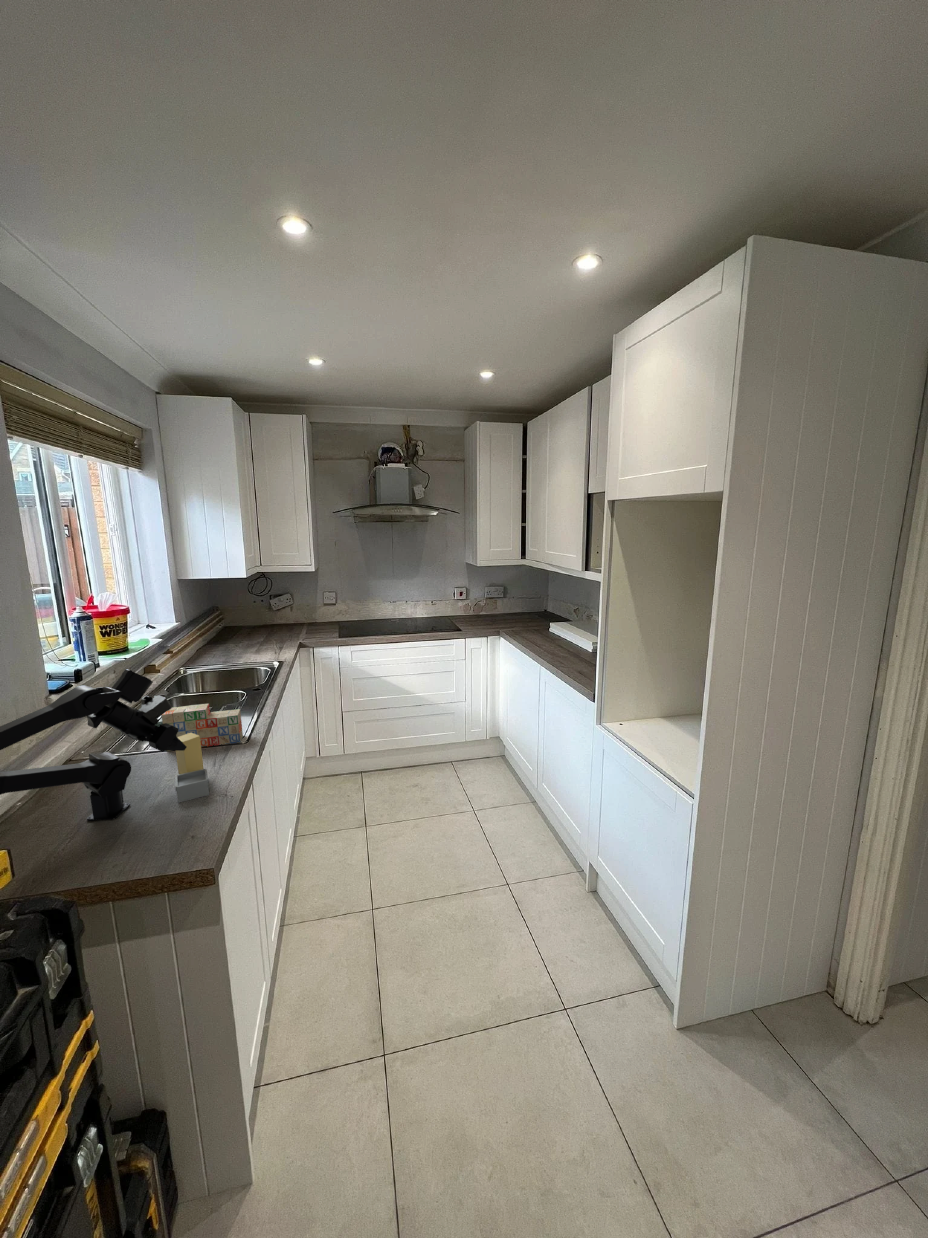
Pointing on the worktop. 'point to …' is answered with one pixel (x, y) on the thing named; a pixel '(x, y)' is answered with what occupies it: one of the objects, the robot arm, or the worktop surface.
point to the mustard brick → (190, 754)
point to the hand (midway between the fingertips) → (176, 744)
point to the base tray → (192, 785)
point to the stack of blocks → (206, 723)
